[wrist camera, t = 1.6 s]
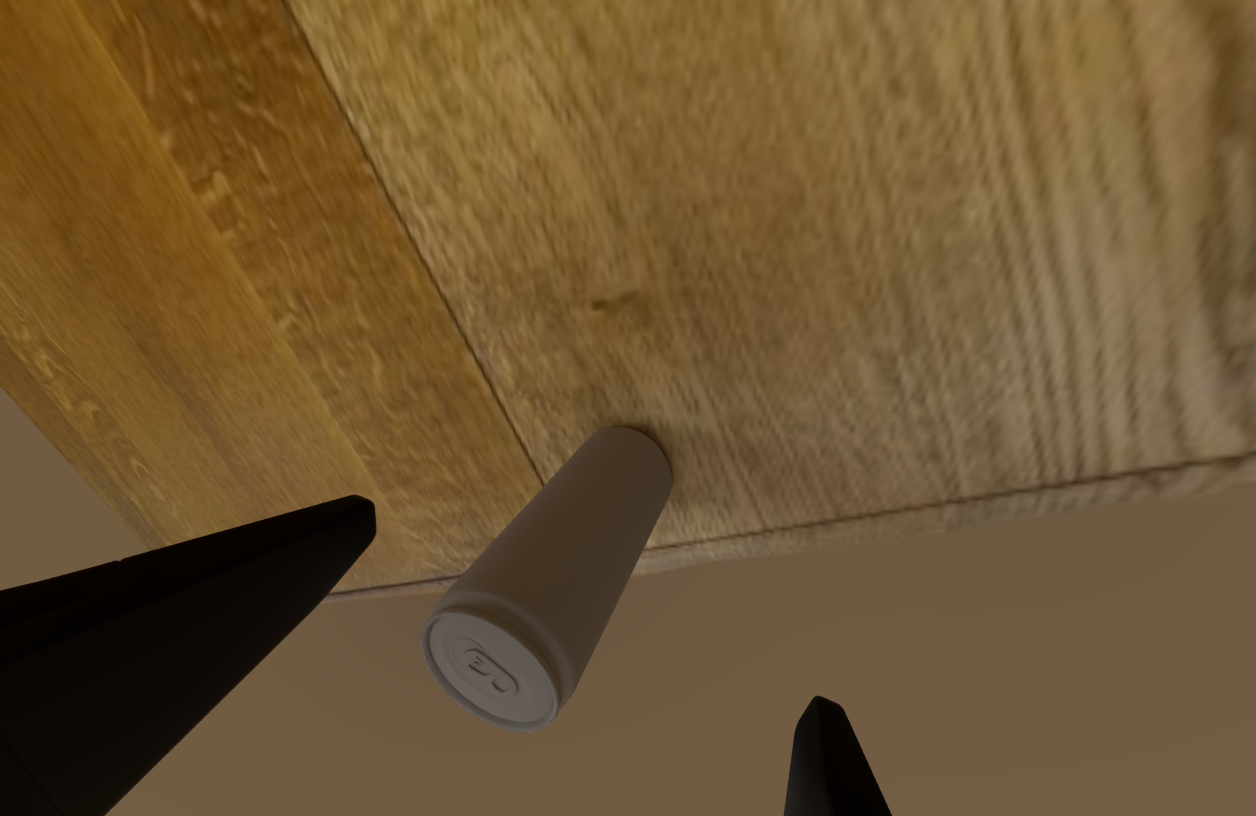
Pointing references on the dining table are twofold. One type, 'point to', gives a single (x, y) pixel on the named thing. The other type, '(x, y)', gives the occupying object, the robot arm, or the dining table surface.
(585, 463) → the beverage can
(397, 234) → the dining table surface
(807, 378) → the dining table surface
